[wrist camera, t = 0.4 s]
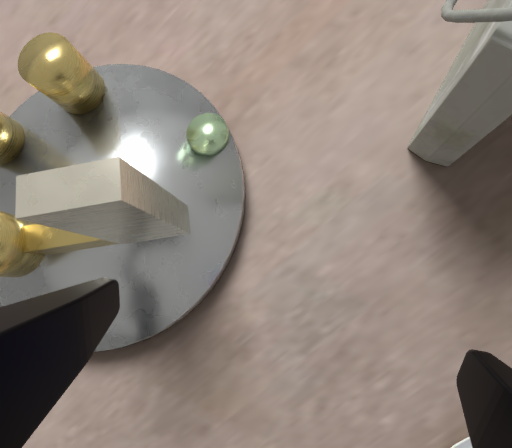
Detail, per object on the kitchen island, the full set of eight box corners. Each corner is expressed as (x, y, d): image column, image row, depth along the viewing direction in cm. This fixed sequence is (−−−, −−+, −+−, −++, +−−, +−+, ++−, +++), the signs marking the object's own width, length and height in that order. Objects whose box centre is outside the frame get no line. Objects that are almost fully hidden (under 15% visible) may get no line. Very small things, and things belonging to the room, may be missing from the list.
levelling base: (264, 329, 23) (252, 341, 17) (-26, 364, 25) (-110, 384, 20) (227, 48, 27) (210, -7, 22) (-15, 101, 29) (-81, 62, 24)
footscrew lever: (-8, 281, 24) (-183, 277, 16) (-6, 222, 25) (-170, 188, 16) (192, 251, 23) (122, 227, 14) (186, 189, 24) (118, 131, 15)
